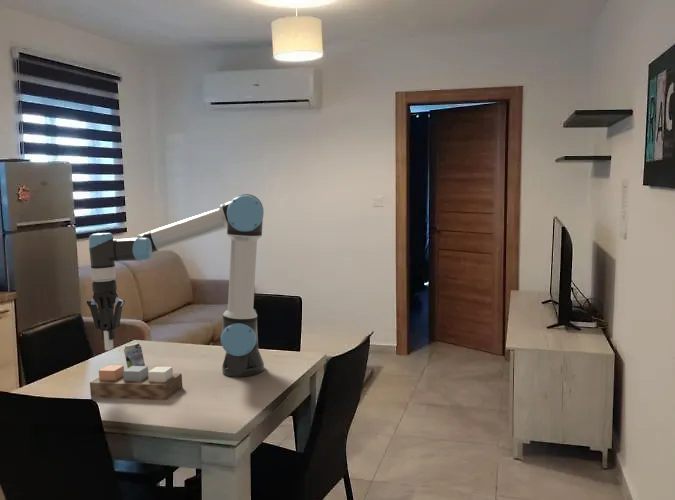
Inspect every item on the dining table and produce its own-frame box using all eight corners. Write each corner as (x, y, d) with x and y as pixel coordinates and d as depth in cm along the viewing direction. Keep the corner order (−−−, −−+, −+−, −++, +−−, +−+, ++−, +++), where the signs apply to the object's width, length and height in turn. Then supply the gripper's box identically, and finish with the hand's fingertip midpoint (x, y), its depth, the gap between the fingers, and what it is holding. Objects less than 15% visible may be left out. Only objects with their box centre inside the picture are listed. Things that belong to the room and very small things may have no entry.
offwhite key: (173, 378, 213) (172, 366, 213) (165, 384, 208) (164, 372, 207) (157, 378, 215) (156, 366, 214) (148, 383, 209) (147, 371, 209)
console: (182, 387, 217) (181, 373, 216) (166, 400, 205) (165, 385, 204) (111, 385, 222) (109, 371, 222) (91, 397, 211) (89, 382, 210)
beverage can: (141, 378, 228) (138, 346, 227) (122, 378, 230) (119, 345, 228) (149, 373, 234) (147, 341, 233) (131, 372, 236) (129, 341, 235)
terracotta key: (124, 377, 217) (123, 365, 217) (115, 382, 212) (114, 370, 211) (109, 376, 218) (108, 365, 218) (99, 381, 213) (98, 370, 212)
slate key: (148, 377, 215) (147, 366, 215) (140, 383, 210) (139, 371, 209) (133, 377, 217) (132, 365, 216) (124, 382, 211) (123, 371, 210)
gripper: (127, 277, 213) (132, 346, 216) (92, 277, 216) (98, 345, 219) (115, 281, 206) (120, 352, 209) (79, 281, 209) (85, 351, 211)
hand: (109, 348), depth 214 cm, fingers closed
